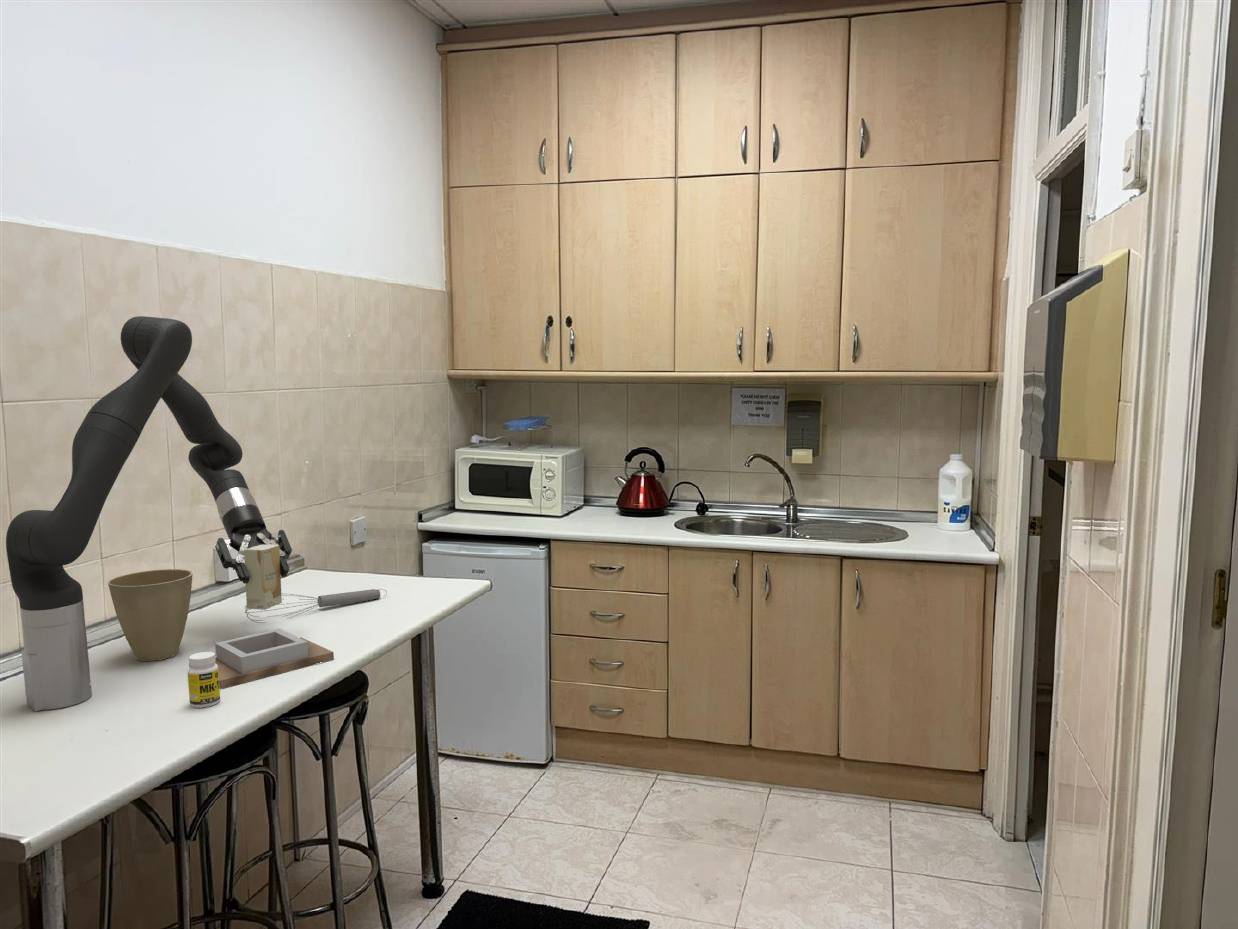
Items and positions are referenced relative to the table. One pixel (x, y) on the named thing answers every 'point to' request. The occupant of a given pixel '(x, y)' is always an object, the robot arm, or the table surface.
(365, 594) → the kitchen whisk
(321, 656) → the board
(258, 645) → the collar
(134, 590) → the plant pot
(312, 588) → the table surface
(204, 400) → the robot arm
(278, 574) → the skincare box
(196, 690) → the supplement bottle
